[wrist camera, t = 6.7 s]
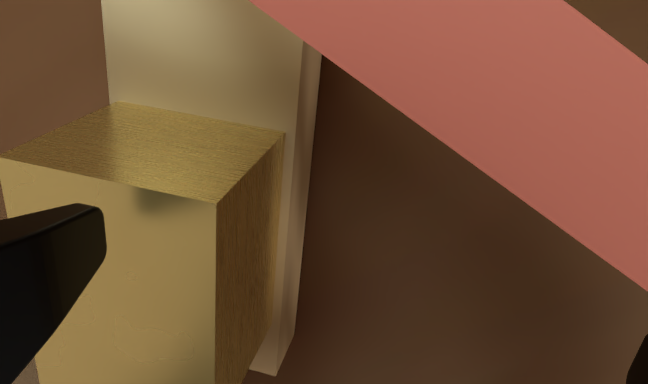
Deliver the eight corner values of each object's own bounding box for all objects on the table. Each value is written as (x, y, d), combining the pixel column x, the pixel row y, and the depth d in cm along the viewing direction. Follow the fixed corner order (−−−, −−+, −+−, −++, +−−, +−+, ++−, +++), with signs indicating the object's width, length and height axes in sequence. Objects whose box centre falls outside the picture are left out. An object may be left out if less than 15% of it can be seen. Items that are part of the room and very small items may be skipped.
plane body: (293, 342, 18) (217, 517, 13) (161, 309, 19) (36, 458, 14) (352, -261, 11) (234, -470, 5) (133, -273, 12) (-164, -462, 6)
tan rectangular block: (271, 324, 15) (213, 436, 12) (132, 289, 16) (40, 385, 13) (285, 132, 13) (216, 203, 9) (118, 100, 14) (-5, 156, 10)
